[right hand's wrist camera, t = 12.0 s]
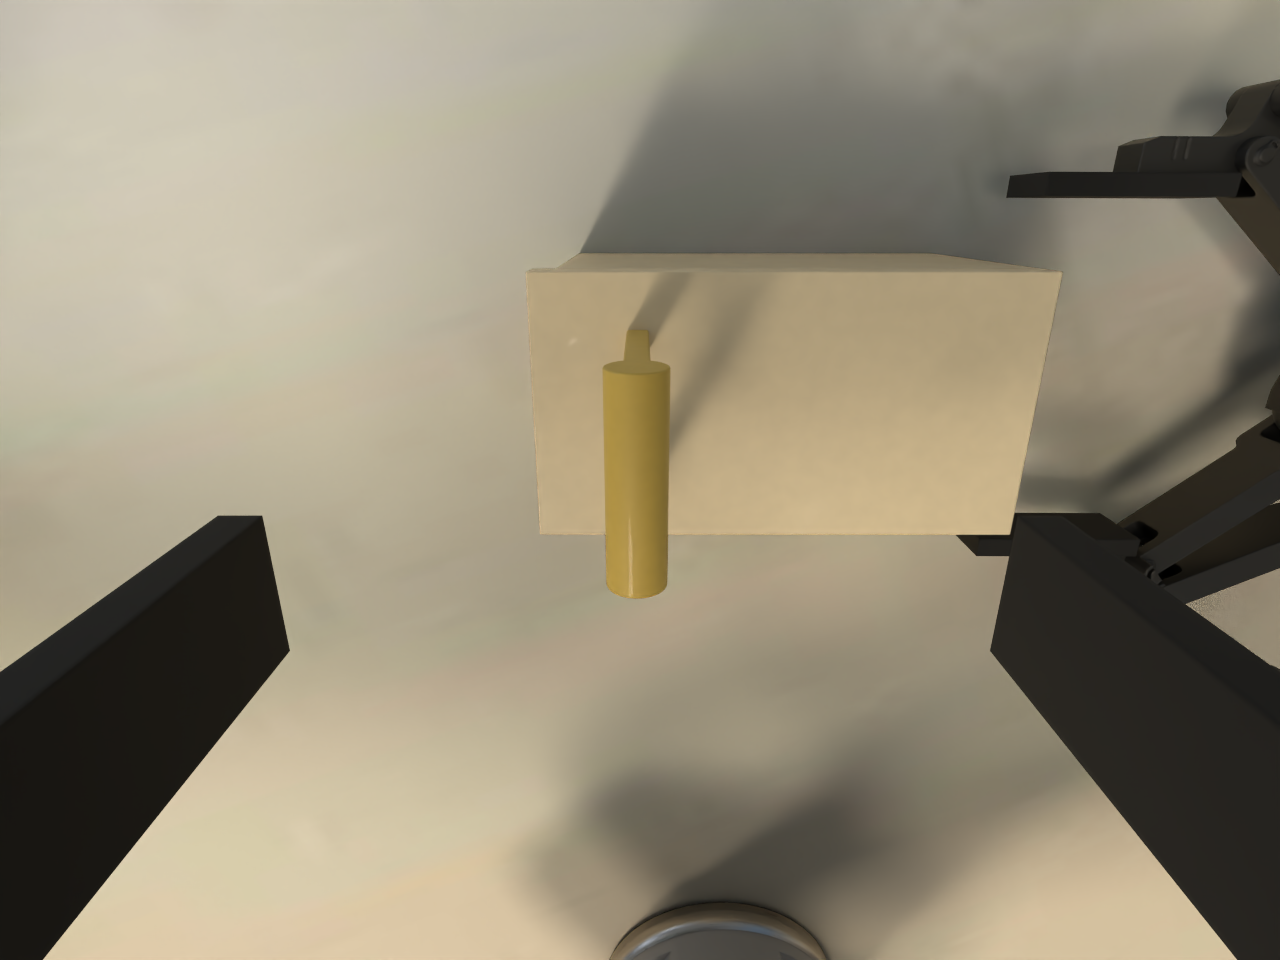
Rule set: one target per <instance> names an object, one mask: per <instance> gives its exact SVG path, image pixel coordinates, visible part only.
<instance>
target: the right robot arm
mask: <svg viewBox="0 0 1280 960" xmlns="http://www.w3.org/2000/svg"><path fill="white" fill-rule="evenodd" d="M289 651H290V649H289V644H288V639H287V635H286V630H285V625H284V620H283V615H282V610H281V605H280V600H279V595H278V590H277V586H276V581H275V576H274V571H273V566H272V561H271V556H270V551H269V546H268V541H267V537H266V532H265V527H264V522H263V517H262V516H217V517H216V518H214V519H213V520H211V521H210V522H209V523H207V524H206V525H205V526H203V527H202V528H200V529H199V530H198V531H196V532H195V533H193V534H192V535H191V536H189V537H188V538H186V539H185V540H184V541H182V542H181V543H179V544H178V545H177V546H175V547H174V548H172V549H171V550H170V551H168V552H167V553H165V554H164V555H163V556H161V557H160V558H159V559H157V560H156V561H154V562H153V563H152V564H150V565H149V566H147V567H146V568H145V569H143V570H142V571H140V572H139V573H138V574H136V575H135V576H133V577H132V578H131V579H129V580H128V581H126V582H125V583H124V584H122V585H121V586H120V587H118V588H117V589H115V590H114V591H113V592H111V593H110V594H108V595H107V596H106V597H104V598H103V599H101V600H100V601H99V602H97V603H96V604H94V605H93V606H92V607H90V608H89V609H87V610H86V611H85V612H83V613H82V614H80V615H79V616H78V617H76V618H75V619H74V620H72V621H71V622H69V623H68V624H67V625H65V626H64V627H62V628H61V629H60V630H58V631H57V632H55V633H54V634H53V635H51V636H50V637H48V638H47V639H46V640H44V641H43V642H41V643H40V644H39V645H37V646H36V647H34V648H33V649H32V650H30V651H29V652H28V653H26V654H25V655H23V656H22V657H21V658H19V659H18V660H16V661H15V662H14V663H12V664H11V665H9V666H8V667H7V668H5V669H4V670H2V671H1V672H0V960H43V959H44V957H45V956H46V955H47V954H48V952H49V951H50V950H51V949H52V947H53V946H54V945H55V944H56V942H57V941H58V940H59V939H60V937H61V936H62V935H63V934H64V932H65V931H66V930H67V929H68V927H69V926H70V925H71V924H72V922H73V921H74V920H75V919H76V917H77V916H78V915H79V914H80V912H81V911H82V910H83V909H84V907H85V906H86V905H87V904H88V902H89V901H90V900H91V899H92V897H93V896H94V895H95V894H96V892H97V891H98V890H99V889H100V887H101V886H102V885H103V884H104V882H105V881H106V880H107V879H108V877H109V876H110V875H111V874H112V872H113V871H114V870H115V869H116V867H117V866H118V865H119V864H120V862H121V861H122V860H123V859H124V857H125V856H126V855H127V854H128V852H129V851H130V850H131V849H132V847H133V846H134V845H135V844H136V842H137V841H138V840H139V839H140V837H141V836H142V835H143V834H144V832H145V831H146V830H147V829H148V827H149V826H150V825H151V824H152V822H153V821H154V820H155V819H156V817H157V816H158V815H159V814H160V812H161V811H162V810H163V809H164V807H165V806H166V805H167V804H168V802H169V801H170V800H171V799H172V797H173V796H174V795H175V794H176V792H177V791H178V790H179V789H180V787H181V786H182V785H183V784H184V782H185V781H186V780H187V779H188V777H189V776H190V775H191V774H192V772H193V771H194V770H195V769H196V767H197V766H198V765H199V764H200V762H201V761H202V760H203V759H204V757H205V756H206V755H207V754H208V752H209V751H210V750H211V749H212V747H213V746H214V745H215V744H216V742H217V741H218V740H219V739H220V737H221V736H222V735H223V734H224V732H225V731H226V730H227V729H228V727H229V726H230V725H231V724H232V722H233V721H234V720H235V719H236V717H237V716H238V715H239V714H240V712H241V711H242V710H243V709H244V707H245V706H246V705H247V704H248V702H249V701H250V700H251V699H252V697H253V696H254V695H255V694H256V692H257V691H258V690H259V689H260V687H261V686H262V685H263V684H264V682H265V681H266V680H267V679H268V677H269V676H270V675H271V674H272V672H273V671H274V670H275V669H276V667H277V666H278V665H279V664H280V662H281V661H282V660H283V659H284V657H285V656H286V655H287V654H288V652H289ZM990 651H991V652H992V654H993V655H994V656H995V657H996V659H997V660H998V661H999V662H1000V664H1001V665H1002V666H1003V667H1004V669H1005V670H1006V671H1007V672H1008V674H1009V675H1010V676H1011V677H1012V679H1013V680H1014V681H1015V682H1016V684H1017V685H1018V686H1019V687H1020V689H1021V690H1022V691H1023V692H1024V694H1025V695H1026V696H1027V697H1028V699H1029V700H1030V701H1031V702H1032V704H1033V705H1034V706H1035V707H1036V709H1037V710H1038V711H1039V712H1040V714H1041V715H1042V716H1043V717H1044V719H1045V720H1046V721H1047V722H1048V724H1049V725H1050V726H1051V727H1052V729H1053V730H1054V731H1055V732H1056V734H1057V735H1058V736H1059V737H1060V739H1061V740H1062V741H1063V742H1064V744H1065V745H1066V746H1067V747H1068V749H1069V750H1070V751H1071V752H1072V754H1073V755H1074V756H1075V757H1076V759H1077V760H1078V761H1079V762H1080V764H1081V765H1082V766H1083V767H1084V769H1085V770H1086V771H1087V772H1088V774H1089V775H1090V776H1091V777H1092V779H1093V780H1094V781H1095V782H1096V784H1097V785H1098V786H1099V787H1100V789H1101V790H1102V791H1103V792H1104V794H1105V795H1106V796H1107V797H1108V799H1109V800H1110V801H1111V802H1112V804H1113V805H1114V806H1115V807H1116V809H1117V810H1118V811H1119V812H1120V814H1121V815H1122V816H1123V817H1124V819H1125V820H1126V821H1127V822H1128V824H1129V825H1130V826H1131V827H1132V829H1133V830H1134V831H1135V832H1136V834H1137V835H1138V836H1139V837H1140V839H1141V840H1142V841H1143V842H1144V844H1145V845H1146V846H1147V847H1148V849H1149V850H1150V851H1151V852H1152V854H1153V855H1154V856H1155V857H1156V859H1157V860H1158V861H1159V862H1160V864H1161V865H1162V866H1163V867H1164V869H1165V870H1166V871H1167V872H1168V874H1169V875H1170V876H1171V877H1172V879H1173V880H1174V881H1175V882H1176V884H1177V885H1178V886H1179V887H1180V889H1181V890H1182V891H1183V892H1184V894H1185V895H1186V896H1187V897H1188V899H1189V900H1190V901H1191V902H1192V904H1193V905H1194V906H1195V907H1196V909H1197V910H1198V911H1199V912H1200V914H1201V915H1202V916H1203V917H1204V919H1205V920H1206V921H1207V922H1208V924H1209V925H1210V926H1211V927H1212V929H1213V930H1214V931H1215V932H1216V934H1217V935H1218V936H1219V937H1220V939H1221V940H1222V941H1223V942H1224V944H1225V945H1226V946H1227V947H1228V949H1229V950H1230V951H1231V952H1232V954H1233V955H1234V956H1235V957H1236V959H1237V960H1280V669H1278V668H1276V667H1274V666H1272V665H1269V664H1268V663H1266V662H1265V661H1264V660H1262V659H1261V658H1259V657H1258V656H1257V655H1255V654H1254V653H1252V652H1251V651H1250V650H1248V649H1247V648H1245V647H1244V646H1243V645H1241V644H1240V643H1239V642H1237V641H1236V640H1234V639H1233V638H1232V637H1230V636H1229V635H1227V634H1226V633H1225V632H1223V631H1222V630H1220V629H1219V628H1218V627H1216V626H1215V625H1213V624H1212V623H1211V622H1209V621H1208V620H1206V619H1205V618H1204V617H1202V616H1201V615H1200V614H1198V613H1197V612H1195V611H1194V610H1193V609H1191V608H1190V607H1188V606H1187V605H1186V604H1184V603H1183V602H1181V601H1180V600H1179V599H1177V598H1176V597H1174V596H1173V595H1172V594H1170V593H1169V592H1167V591H1166V590H1165V589H1163V588H1162V587H1160V586H1159V585H1158V584H1156V583H1155V582H1154V581H1152V580H1151V579H1149V578H1148V577H1147V576H1145V575H1144V574H1142V573H1141V572H1140V571H1138V570H1137V569H1135V568H1134V567H1133V566H1131V565H1130V564H1128V563H1127V562H1126V561H1124V560H1123V559H1121V558H1120V557H1119V556H1117V555H1116V554H1115V553H1113V552H1112V551H1110V550H1109V549H1108V548H1106V547H1105V546H1103V545H1102V544H1101V543H1099V542H1098V541H1096V540H1095V539H1094V538H1092V537H1091V536H1089V535H1088V534H1087V533H1085V532H1084V531H1082V530H1081V529H1080V528H1078V527H1077V526H1075V525H1074V524H1073V523H1071V522H1070V521H1069V520H1067V519H1066V518H1064V517H1063V516H1018V517H1017V522H1016V527H1015V532H1014V537H1013V541H1012V546H1011V551H1010V556H1009V561H1008V566H1007V571H1006V576H1005V581H1004V586H1003V590H1002V595H1001V600H1000V605H999V610H998V615H997V620H996V625H995V630H994V635H993V639H992V644H991V649H990Z"/></svg>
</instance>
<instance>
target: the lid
mask: <svg viewBox="0 0 1280 960" xmlns="http://www.w3.org/2000/svg"><path fill="white" fill-rule="evenodd" d="M1062 275H1063V272H1062V271H1055V270H1048V269H531V270H529V271H527V272H526V288H527V306H528V325H529V343H530V361H531V380H532V398H533V416H534V435H535V453H536V471H537V489H538V508H539V526H540V534H606V584H607V587H608V588H609V590H610V591H611V592H613V593H614V594H616V595H619V596H622V597H626V598H647V597H652V596H655V595H657V594H659V593H661V592H662V591H663V590H664V589H665V588H666V586H667V570H668V535H1010V532H1011V527H1012V522H1013V517H1014V512H1015V507H1016V502H1017V497H1018V492H1019V488H1020V483H1021V478H1022V473H1023V468H1024V463H1025V458H1026V453H1027V448H1028V443H1029V438H1030V433H1031V428H1032V423H1033V418H1034V413H1035V408H1036V403H1037V398H1038V393H1039V388H1040V384H1041V379H1042V374H1043V369H1044V364H1045V359H1046V354H1047V349H1048V344H1049V339H1050V334H1051V329H1052V324H1053V319H1054V314H1055V309H1056V304H1057V299H1058V294H1059V289H1060V285H1061V280H1062Z"/></svg>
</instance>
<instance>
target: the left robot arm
mask: <svg viewBox="0 0 1280 960" xmlns="http://www.w3.org/2000/svg"><path fill="white" fill-rule="evenodd" d="M1226 114H1227V120H1226V122H1225V123H1224V125H1223V126H1222V128H1221V129H1220V130H1219V131H1218V132H1217V133H1216V134H1215V135H1213V136H1190V137H1188V136H1159V137H1152V138H1146V139H1139V140H1133V141H1131V142H1128V143H1126V144H1123V145H1121V146H1118V151H1117V156H1116V160H1115V165H1114V169H1113V172H1043V173H1034V174H1024V175H1014V176H1010V180H1009V186H1008V192H1007V197H1006V198H1212V197H1216V198H1217V199H1218V201H1219V202H1220V203H1221V204H1222V205H1223V207H1224V208H1225V209H1226V210H1227V212H1228V213H1229V214H1230V215H1231V216H1232V218H1233V219H1234V220H1235V221H1236V222H1237V224H1238V225H1239V226H1240V227H1241V229H1242V230H1243V231H1244V232H1245V233H1246V235H1247V236H1248V237H1249V238H1250V239H1251V241H1252V242H1253V243H1254V244H1255V246H1256V247H1257V248H1258V249H1259V250H1260V252H1261V253H1262V254H1263V255H1264V257H1265V258H1266V259H1267V260H1268V261H1269V263H1270V264H1271V265H1272V266H1273V267H1274V269H1275V270H1276V271H1277V272H1278V274H1279V275H1280V80H1276V81H1271V82H1266V83H1261V84H1257V85H1252V86H1247V87H1243V88H1241V89H1239V90H1237V91H1236V92H1235V93H1234V94H1233V95H1232V96H1231V97H1230V99H1229V101H1228V103H1227V107H1226ZM1265 408H1268V409H1271V410H1272V415H1271V416H1270V417H1268V418H1266V419H1265V420H1263V421H1262V422H1260V423H1259V424H1257V425H1256V426H1254V427H1252V428H1251V429H1249V430H1248V431H1246V432H1245V433H1243V434H1242V435H1240V436H1239V437H1238V438H1237V440H1236V445H1237V446H1236V447H1235V448H1234V449H1233V450H1232V451H1230V452H1228V453H1227V454H1225V455H1224V456H1222V457H1221V458H1219V459H1217V460H1216V461H1214V462H1213V463H1211V464H1210V465H1208V466H1207V467H1205V468H1203V469H1202V470H1200V471H1199V472H1197V473H1196V474H1194V475H1193V476H1191V477H1189V478H1188V479H1186V480H1185V481H1183V482H1182V483H1180V484H1178V485H1177V486H1175V487H1174V488H1172V489H1171V490H1169V491H1168V492H1166V493H1164V494H1163V495H1161V496H1160V497H1158V498H1157V499H1155V500H1154V501H1152V502H1150V503H1149V504H1147V505H1146V506H1144V507H1143V508H1141V509H1140V510H1138V511H1136V512H1135V513H1133V514H1132V515H1130V516H1129V517H1127V518H1125V519H1124V520H1122V521H1121V522H1119V523H1118V524H1116V523H1114V522H1113V521H1111V520H1109V519H1108V518H1106V517H1105V516H1103V515H1102V514H1100V513H1014V517H1013V522H1012V527H1011V532H1010V535H956V536H957V537H958V538H959V539H960V540H961V541H962V542H963V543H964V544H965V545H966V546H967V547H968V548H969V549H970V550H971V551H972V552H973V553H974V554H975V555H976V556H1010V551H1011V546H1012V541H1013V537H1014V532H1015V527H1016V522H1017V517H1018V516H1063V517H1064V518H1066V519H1067V520H1069V521H1070V522H1071V523H1073V524H1074V525H1075V526H1077V527H1078V528H1080V529H1081V530H1082V531H1084V532H1085V533H1087V534H1088V535H1089V536H1091V537H1092V538H1094V539H1095V540H1096V541H1098V542H1099V543H1101V544H1102V545H1103V546H1105V547H1106V548H1108V549H1109V550H1110V551H1112V552H1113V553H1115V554H1116V555H1117V556H1119V557H1120V558H1121V559H1123V560H1124V561H1126V562H1127V563H1128V564H1130V565H1131V566H1133V567H1134V568H1135V569H1137V570H1138V571H1140V572H1141V573H1142V574H1144V575H1145V576H1147V577H1148V578H1149V579H1151V580H1152V581H1154V582H1155V583H1156V584H1158V585H1159V586H1160V587H1162V588H1163V589H1165V590H1166V591H1167V592H1169V593H1170V594H1172V595H1173V596H1174V597H1176V598H1177V599H1179V600H1180V601H1181V602H1183V603H1184V604H1186V603H1189V602H1192V601H1194V600H1197V599H1199V598H1202V597H1205V596H1207V595H1210V594H1213V593H1215V592H1218V591H1220V590H1223V589H1226V588H1228V587H1231V586H1234V585H1236V584H1239V583H1241V582H1244V581H1247V580H1249V579H1252V578H1255V577H1257V576H1260V575H1262V574H1265V573H1268V572H1270V571H1273V570H1275V569H1278V568H1280V503H1276V504H1272V503H1274V502H1275V501H1277V500H1279V499H1280V376H1279V377H1278V379H1277V381H1276V382H1275V384H1274V386H1273V387H1272V389H1271V391H1270V394H1269V398H1268V401H1267V404H1266V407H1265ZM1271 504H1272V505H1271ZM1142 545H1143V546H1142ZM610 960H826V958H825V955H824V953H823V951H822V949H821V947H820V946H819V944H818V943H817V942H816V940H815V939H814V938H813V937H812V936H811V935H810V934H809V933H808V932H807V931H806V930H805V929H804V928H802V927H801V926H800V925H798V924H797V923H795V922H794V921H792V920H790V919H788V918H787V917H785V916H782V915H780V914H778V913H776V912H773V911H770V910H767V909H764V908H760V907H756V906H751V905H746V904H738V903H705V904H696V905H691V906H686V907H682V908H678V909H674V910H672V911H669V912H666V913H663V914H661V915H659V916H656V917H654V918H652V919H650V920H648V921H647V922H645V923H643V924H642V925H640V926H639V927H637V928H636V929H635V930H633V931H632V932H631V933H630V934H629V935H628V936H627V937H626V938H625V939H623V941H622V942H621V943H620V944H619V945H618V947H617V948H616V950H615V951H614V953H613V954H612V956H611V958H610Z"/></svg>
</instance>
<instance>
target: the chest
mask: <svg viewBox="0 0 1280 960" xmlns="http://www.w3.org/2000/svg"><path fill="white" fill-rule="evenodd" d="M556 269H1039V268H1033V267H1026V266H1019V265H1012V264H1005V263H997V262H990V261H983V260H976V259H969V258H961V257H954V256H947V255H940V254H932V253H580V254H578V255H576V256H574V257H573V258H571V259H570V260H568V261H567V262H565V263H564V264H562V265H561V266H559V267H558V268H556Z"/></svg>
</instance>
